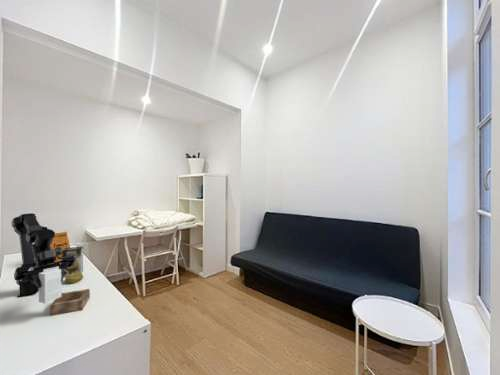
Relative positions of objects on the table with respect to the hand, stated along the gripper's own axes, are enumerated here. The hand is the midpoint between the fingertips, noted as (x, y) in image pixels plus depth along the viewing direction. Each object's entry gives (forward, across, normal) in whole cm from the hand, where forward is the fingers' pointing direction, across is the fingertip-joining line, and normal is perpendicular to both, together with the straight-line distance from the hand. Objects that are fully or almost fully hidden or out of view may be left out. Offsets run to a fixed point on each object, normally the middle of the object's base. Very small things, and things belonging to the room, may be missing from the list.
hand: (51, 284), depth 91 cm
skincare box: (+4, 0, +6) cm, 7 cm away
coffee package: (-41, +22, +61) cm, 77 cm away
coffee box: (-21, +21, +41) cm, 51 cm away
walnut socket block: (+8, +7, +11) cm, 15 cm away
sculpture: (-13, +18, +33) cm, 39 cm away
